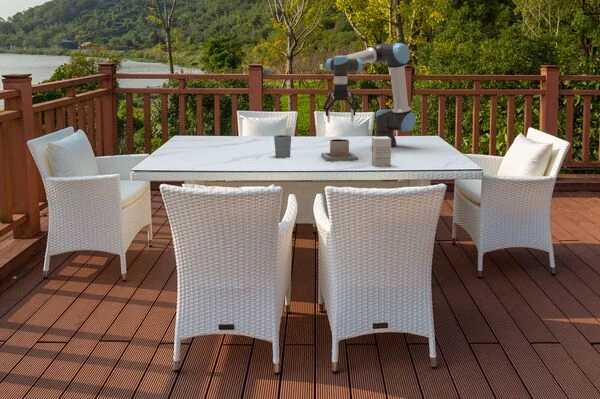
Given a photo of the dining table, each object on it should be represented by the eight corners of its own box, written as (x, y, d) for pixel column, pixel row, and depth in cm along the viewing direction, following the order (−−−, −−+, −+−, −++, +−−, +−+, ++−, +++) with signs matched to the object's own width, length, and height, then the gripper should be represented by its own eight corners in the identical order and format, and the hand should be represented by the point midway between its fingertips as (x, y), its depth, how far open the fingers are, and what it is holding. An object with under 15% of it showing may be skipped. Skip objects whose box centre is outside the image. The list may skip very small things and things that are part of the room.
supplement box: (371, 163, 392) (371, 136, 388) (387, 163, 392) (388, 136, 389) (374, 166, 383) (374, 138, 380) (390, 166, 383) (391, 138, 380)
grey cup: (278, 158, 410) (278, 137, 408) (271, 156, 419) (270, 135, 417) (294, 157, 415) (294, 136, 412) (286, 154, 424) (286, 134, 421)
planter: (347, 158, 403) (347, 141, 401) (328, 158, 405) (328, 141, 403) (350, 155, 413) (350, 139, 411) (331, 155, 416) (331, 138, 414)
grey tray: (351, 155, 419) (351, 152, 419) (359, 161, 399) (359, 157, 399) (321, 156, 417) (321, 153, 417) (327, 162, 397) (327, 158, 397)
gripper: (319, 84, 397) (319, 123, 402) (364, 83, 400) (363, 122, 405) (317, 83, 404) (317, 121, 409) (361, 83, 407) (360, 120, 412)
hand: (340, 121), depth 407 cm, fingers open, 13 cm apart
